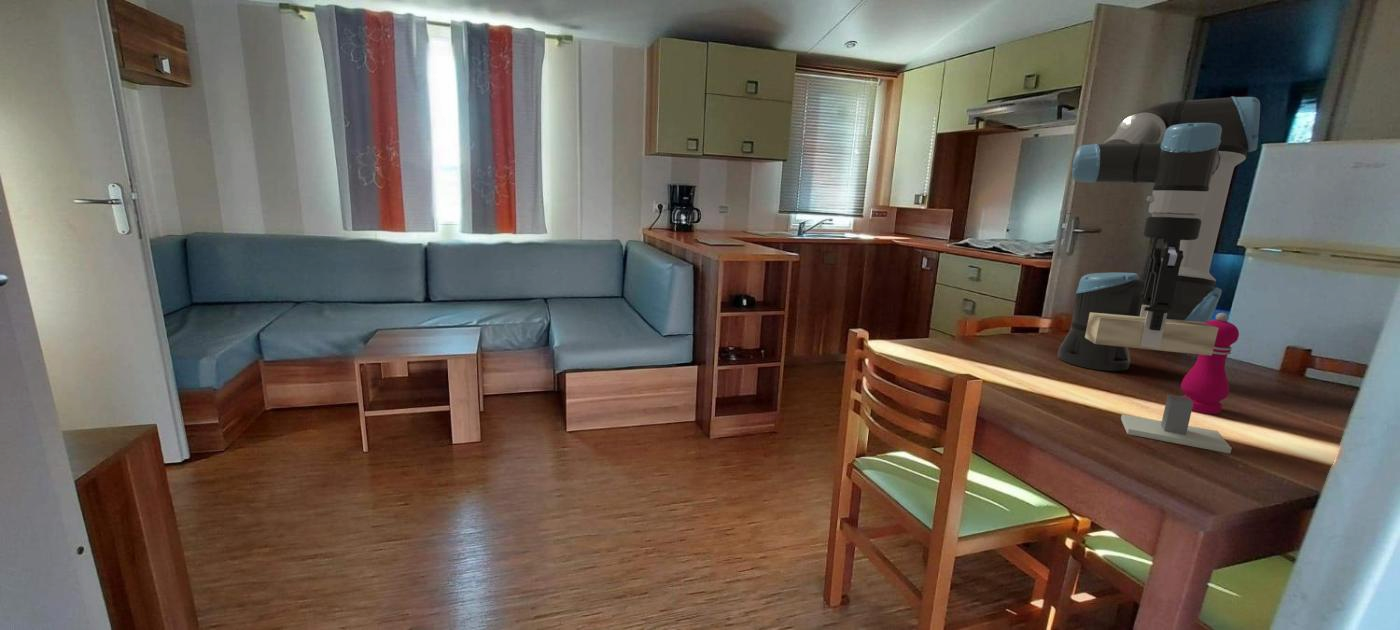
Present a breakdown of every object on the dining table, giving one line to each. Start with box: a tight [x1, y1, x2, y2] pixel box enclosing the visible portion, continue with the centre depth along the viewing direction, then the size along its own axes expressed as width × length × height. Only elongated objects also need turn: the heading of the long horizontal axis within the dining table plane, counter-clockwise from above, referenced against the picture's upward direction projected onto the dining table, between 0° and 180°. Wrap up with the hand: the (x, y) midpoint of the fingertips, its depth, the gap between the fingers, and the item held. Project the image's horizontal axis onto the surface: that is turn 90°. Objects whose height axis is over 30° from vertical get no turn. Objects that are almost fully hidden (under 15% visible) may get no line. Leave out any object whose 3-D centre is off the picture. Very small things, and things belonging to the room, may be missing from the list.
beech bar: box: [1085, 312, 1219, 355], centre depth 102 cm, size 5×18×5 cm, turn 74°
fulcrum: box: [1120, 394, 1233, 454], centre depth 100 cm, size 8×14×7 cm, turn 60°
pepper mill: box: [1180, 312, 1240, 415], centre depth 111 cm, size 7×7×20 cm
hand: (1146, 342), depth 103 cm, fingers closed on beech bar, 6 cm apart
